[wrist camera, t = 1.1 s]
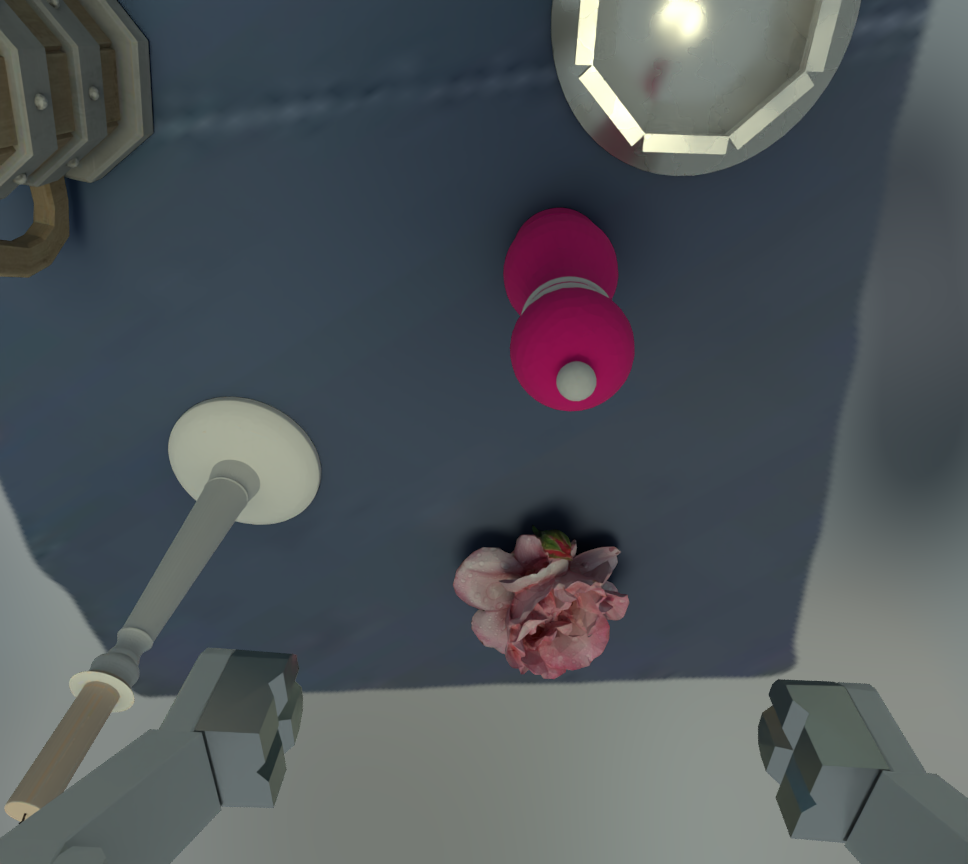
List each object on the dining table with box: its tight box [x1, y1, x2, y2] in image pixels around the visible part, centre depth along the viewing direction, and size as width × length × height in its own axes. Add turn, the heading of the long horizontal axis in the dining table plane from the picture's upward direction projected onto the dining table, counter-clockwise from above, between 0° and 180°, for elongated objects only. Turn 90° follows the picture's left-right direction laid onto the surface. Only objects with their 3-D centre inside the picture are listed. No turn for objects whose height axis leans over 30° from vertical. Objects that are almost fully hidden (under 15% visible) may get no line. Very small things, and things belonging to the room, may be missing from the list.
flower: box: [453, 525, 629, 679], centre depth 57 cm, size 15×15×10 cm
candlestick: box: [5, 397, 321, 824], centre depth 43 cm, size 13×13×30 cm
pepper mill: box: [503, 208, 634, 411], centre depth 37 cm, size 7×7×20 cm
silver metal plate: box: [551, 0, 861, 176], centre depth 37 cm, size 17×17×2 cm
